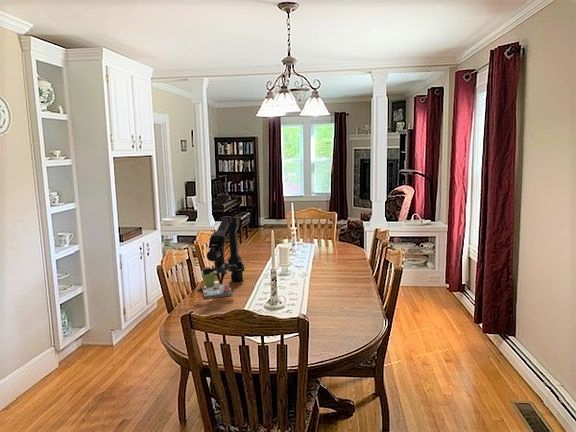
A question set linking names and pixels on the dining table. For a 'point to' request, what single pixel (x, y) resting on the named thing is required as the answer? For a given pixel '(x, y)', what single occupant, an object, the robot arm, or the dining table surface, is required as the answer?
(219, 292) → the mixing board
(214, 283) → the fader white
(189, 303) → the dining table surface
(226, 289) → the fader red
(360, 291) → the dining table surface
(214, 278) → the plant pot
